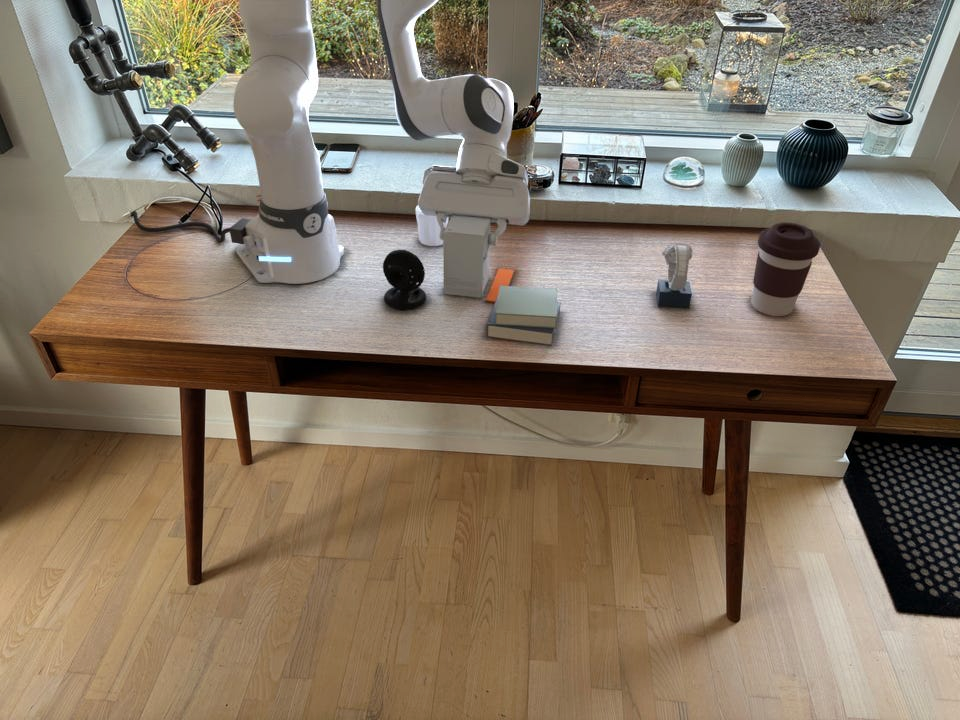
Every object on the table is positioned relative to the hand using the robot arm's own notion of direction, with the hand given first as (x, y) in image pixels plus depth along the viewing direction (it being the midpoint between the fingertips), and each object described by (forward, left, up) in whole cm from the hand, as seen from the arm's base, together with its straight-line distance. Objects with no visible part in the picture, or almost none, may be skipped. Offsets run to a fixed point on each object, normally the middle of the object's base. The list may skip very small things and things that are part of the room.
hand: (468, 242), depth 140 cm
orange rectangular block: (+4, +4, -9) cm, 11 cm away
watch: (+29, +24, -9) cm, 38 cm away
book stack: (+17, -2, -9) cm, 19 cm away
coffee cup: (+42, +36, -9) cm, 56 cm away
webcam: (-3, -12, -9) cm, 16 cm away
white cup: (-18, +7, -9) cm, 22 cm away
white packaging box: (0, -1, -9) cm, 9 cm away
